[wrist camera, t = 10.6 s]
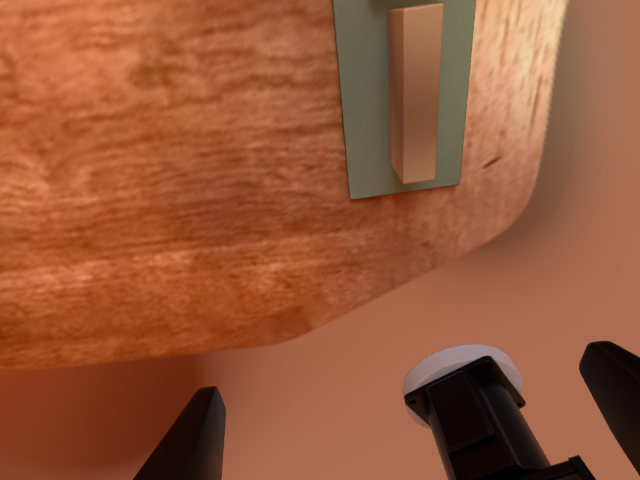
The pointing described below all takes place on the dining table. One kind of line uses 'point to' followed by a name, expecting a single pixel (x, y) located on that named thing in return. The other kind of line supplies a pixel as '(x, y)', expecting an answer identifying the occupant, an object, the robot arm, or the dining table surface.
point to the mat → (373, 93)
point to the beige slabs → (414, 89)
